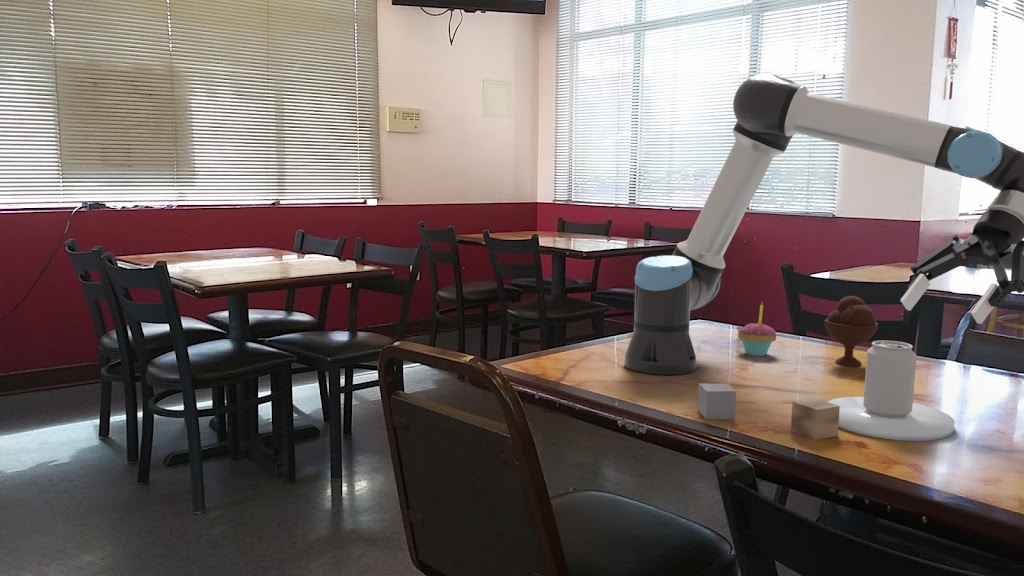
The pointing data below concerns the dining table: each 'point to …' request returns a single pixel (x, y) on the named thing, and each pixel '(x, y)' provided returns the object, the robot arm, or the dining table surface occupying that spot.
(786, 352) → the dining table surface
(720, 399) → the gray block
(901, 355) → the can
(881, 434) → the plate
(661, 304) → the robot arm
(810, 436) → the wooden cube
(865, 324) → the ice cream bowl
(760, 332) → the cupcake
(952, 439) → the dining table surface
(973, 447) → the dining table surface
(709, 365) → the dining table surface
